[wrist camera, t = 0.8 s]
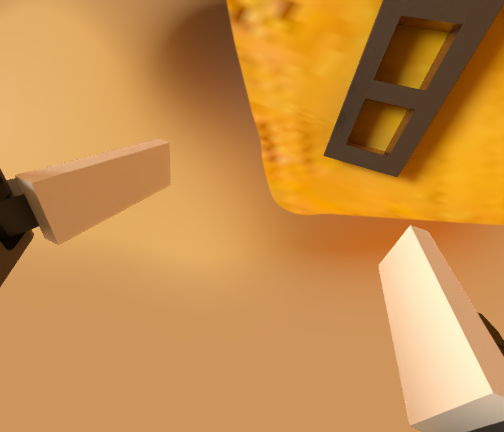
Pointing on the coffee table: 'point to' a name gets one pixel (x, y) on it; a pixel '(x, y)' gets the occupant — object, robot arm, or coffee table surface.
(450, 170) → the coffee table surface
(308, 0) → the coffee table surface
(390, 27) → the dark grey ladder frame
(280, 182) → the coffee table surface
